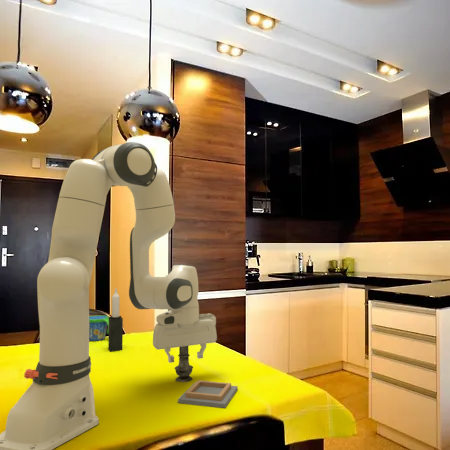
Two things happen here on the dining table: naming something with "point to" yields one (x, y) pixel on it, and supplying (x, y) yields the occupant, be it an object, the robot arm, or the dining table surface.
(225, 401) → the base plate
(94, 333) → the snack cup
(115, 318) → the candle
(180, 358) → the salt shaker
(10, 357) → the dining table surface
